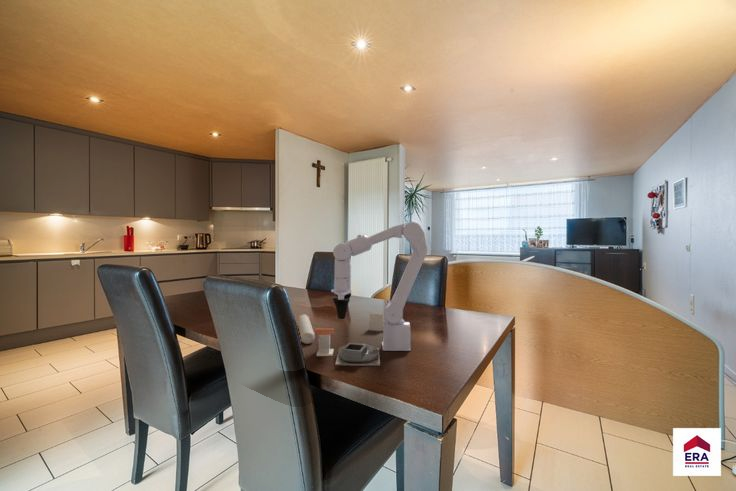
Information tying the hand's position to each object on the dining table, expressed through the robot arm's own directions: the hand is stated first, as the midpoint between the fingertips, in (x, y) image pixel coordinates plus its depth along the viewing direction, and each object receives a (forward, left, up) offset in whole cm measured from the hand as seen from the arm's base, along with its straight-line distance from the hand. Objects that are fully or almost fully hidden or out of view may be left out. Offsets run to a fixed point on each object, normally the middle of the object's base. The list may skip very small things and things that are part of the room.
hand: (342, 315), depth 112 cm
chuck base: (-6, +11, -10) cm, 16 cm away
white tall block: (+5, +8, -10) cm, 14 cm away
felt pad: (+5, +8, -10) cm, 14 cm away
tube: (+15, -12, -11) cm, 22 cm away
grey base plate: (-6, +11, -10) cm, 16 cm away
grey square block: (-13, -18, -11) cm, 25 cm away
